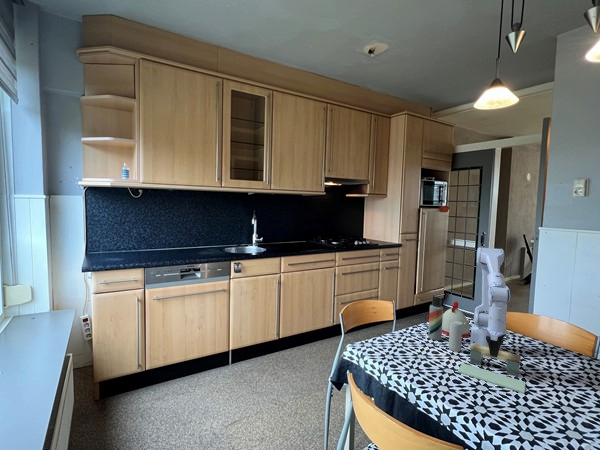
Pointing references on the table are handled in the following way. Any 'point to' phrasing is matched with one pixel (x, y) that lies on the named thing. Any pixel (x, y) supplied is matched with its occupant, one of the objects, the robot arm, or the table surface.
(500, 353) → the oak rail
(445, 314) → the kitchen timer
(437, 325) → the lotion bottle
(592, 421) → the table surface
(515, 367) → the cradle stands
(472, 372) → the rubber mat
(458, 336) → the beverage can
